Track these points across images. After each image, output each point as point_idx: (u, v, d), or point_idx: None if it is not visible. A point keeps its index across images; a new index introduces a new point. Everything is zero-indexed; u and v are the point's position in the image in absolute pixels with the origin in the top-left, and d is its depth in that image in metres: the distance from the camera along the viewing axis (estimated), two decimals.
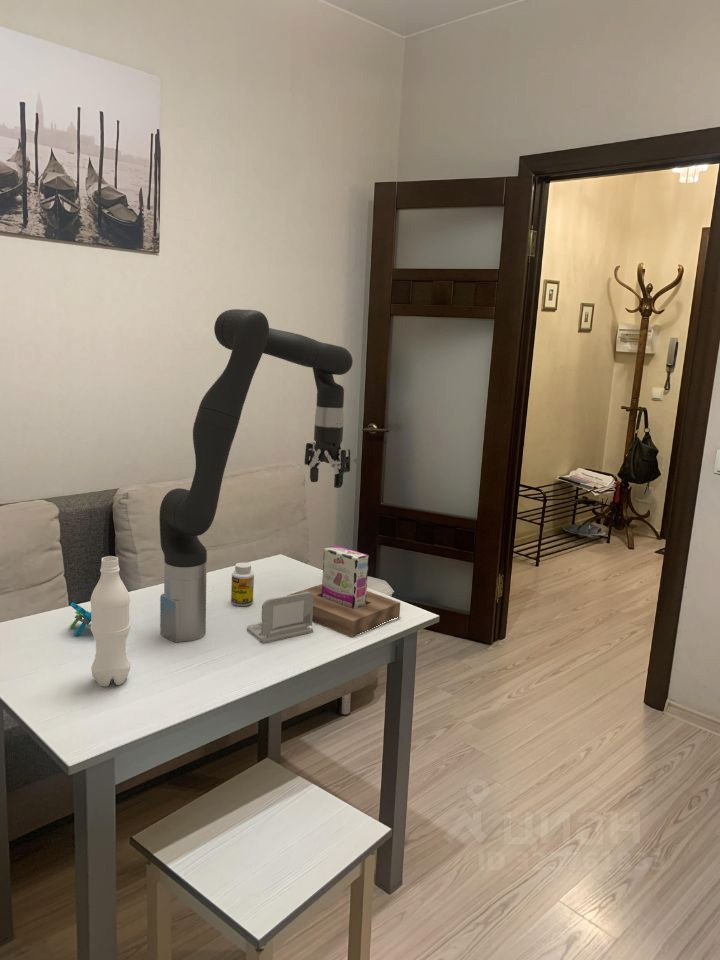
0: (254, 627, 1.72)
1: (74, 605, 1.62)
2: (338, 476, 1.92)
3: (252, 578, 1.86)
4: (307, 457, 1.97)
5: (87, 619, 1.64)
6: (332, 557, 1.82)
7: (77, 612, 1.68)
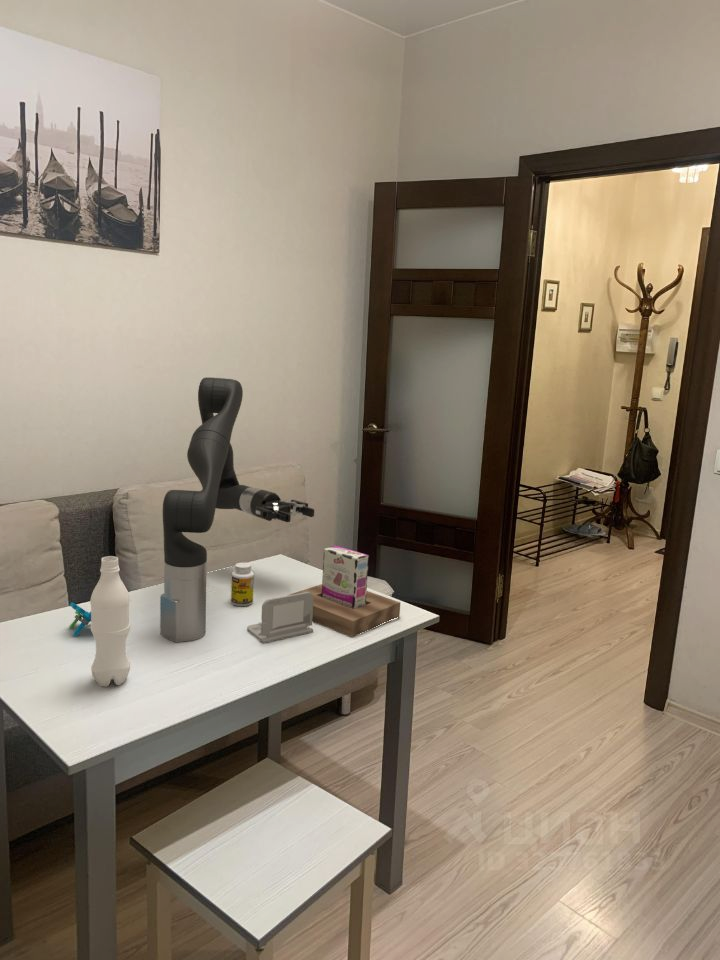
0: (254, 627, 1.72)
1: (73, 605, 1.62)
2: None
3: (252, 578, 1.86)
4: (267, 509, 1.90)
5: (86, 619, 1.64)
6: (332, 557, 1.82)
7: (77, 612, 1.68)
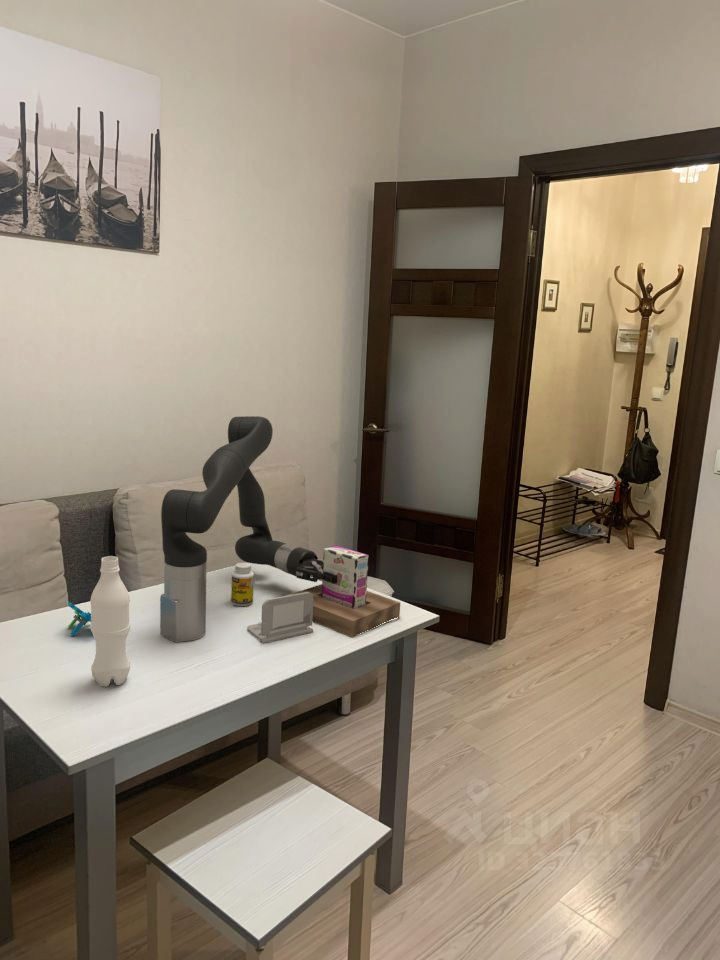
0: (254, 627, 1.72)
1: (71, 605, 1.62)
2: None
3: (252, 578, 1.86)
4: (310, 570, 1.83)
5: (84, 619, 1.64)
6: (332, 557, 1.81)
7: (76, 612, 1.68)
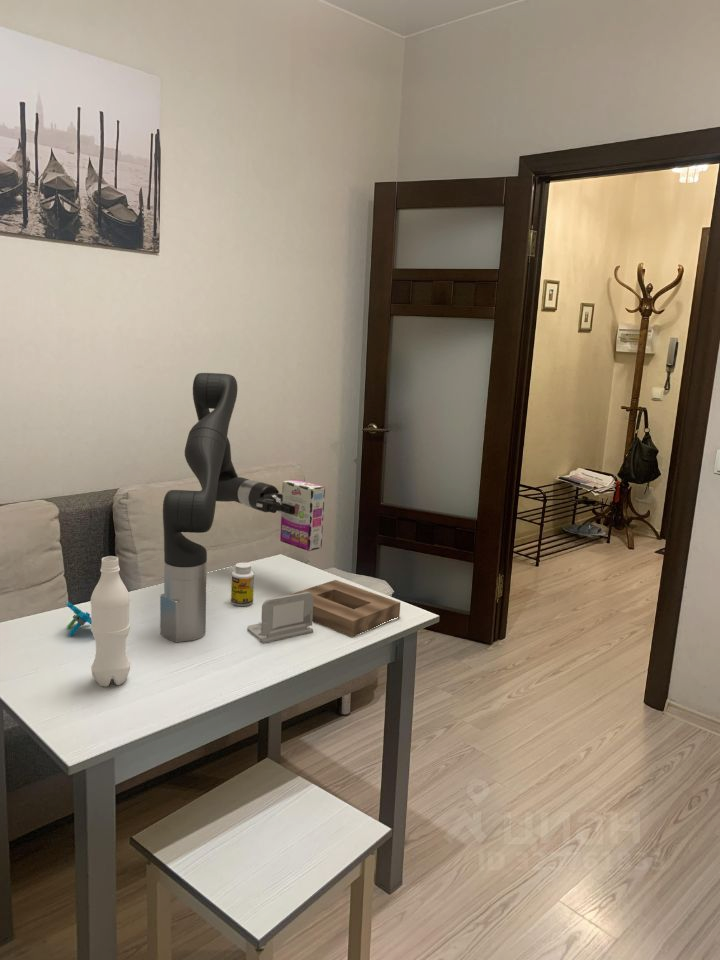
0: (254, 627, 1.72)
1: (69, 605, 1.62)
2: None
3: (252, 578, 1.86)
4: (270, 502, 1.90)
5: (82, 620, 1.63)
6: (290, 489, 1.89)
7: None
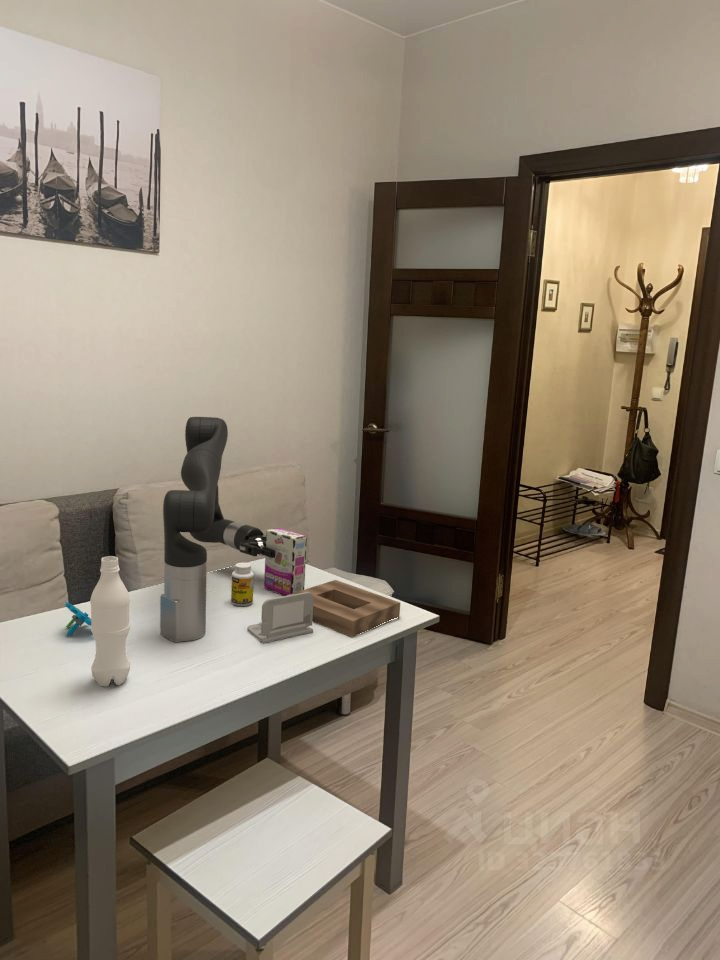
0: (254, 627, 1.72)
1: (67, 605, 1.62)
2: None
3: (252, 578, 1.86)
4: (251, 545, 1.96)
5: (80, 620, 1.63)
6: (273, 538, 1.95)
7: None
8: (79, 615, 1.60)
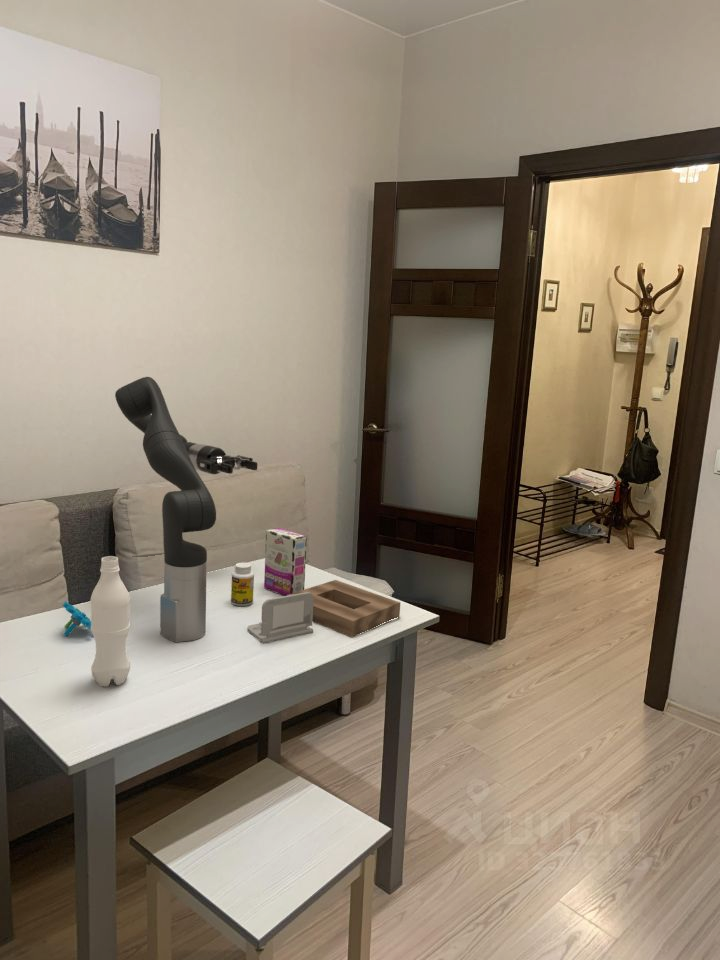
0: (254, 627, 1.72)
1: (64, 605, 1.62)
2: None
3: (252, 578, 1.86)
4: (210, 462, 1.96)
5: (77, 620, 1.63)
6: (273, 538, 1.95)
7: None
8: (75, 615, 1.59)
